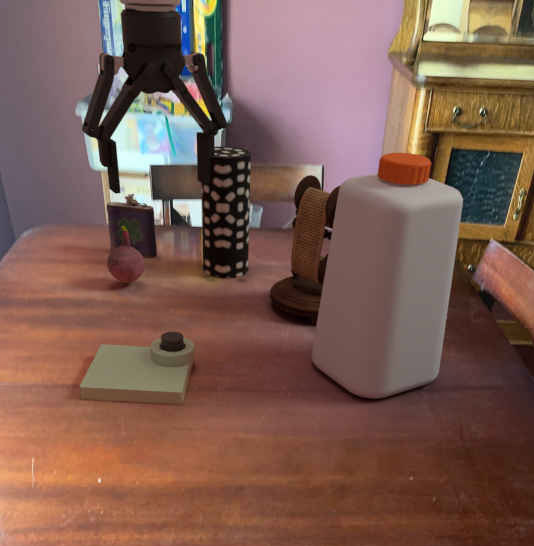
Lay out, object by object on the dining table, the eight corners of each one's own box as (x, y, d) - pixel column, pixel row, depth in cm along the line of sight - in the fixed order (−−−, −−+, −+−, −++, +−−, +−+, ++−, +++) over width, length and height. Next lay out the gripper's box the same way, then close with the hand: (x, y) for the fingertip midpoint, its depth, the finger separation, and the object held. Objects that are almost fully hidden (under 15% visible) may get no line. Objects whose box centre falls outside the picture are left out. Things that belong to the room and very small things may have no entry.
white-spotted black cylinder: (194, 267, 125) (191, 149, 113) (229, 258, 129) (230, 144, 117) (221, 281, 120) (220, 160, 108) (257, 271, 124) (261, 154, 112)
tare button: (159, 352, 91) (159, 340, 90) (163, 342, 93) (162, 330, 92) (182, 353, 91) (181, 341, 90) (185, 343, 93) (184, 332, 92)
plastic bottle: (449, 382, 94) (500, 166, 77) (364, 408, 87) (398, 179, 70) (380, 338, 104) (411, 139, 87) (299, 359, 97) (315, 149, 81)
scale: (80, 399, 86) (77, 375, 84) (103, 354, 96) (100, 332, 94) (185, 405, 86) (185, 381, 84) (197, 359, 96) (196, 337, 94)
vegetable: (153, 284, 117) (150, 226, 111) (128, 295, 113) (123, 235, 107) (127, 276, 120) (122, 218, 114) (102, 286, 116) (96, 227, 110)
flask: (108, 252, 129) (103, 193, 122) (115, 247, 131) (110, 189, 125) (154, 258, 127) (151, 199, 121) (160, 253, 130) (157, 195, 123)
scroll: (251, 303, 113) (255, 176, 101) (314, 283, 121) (324, 163, 109) (313, 334, 104) (325, 200, 92) (376, 311, 112) (395, 184, 100)
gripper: (58, 8, 77) (82, 202, 90) (252, 11, 87) (249, 185, 100) (42, 4, 82) (67, 187, 95) (227, 7, 92) (227, 173, 105)
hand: (160, 186), depth 98 cm, fingers open, 13 cm apart
